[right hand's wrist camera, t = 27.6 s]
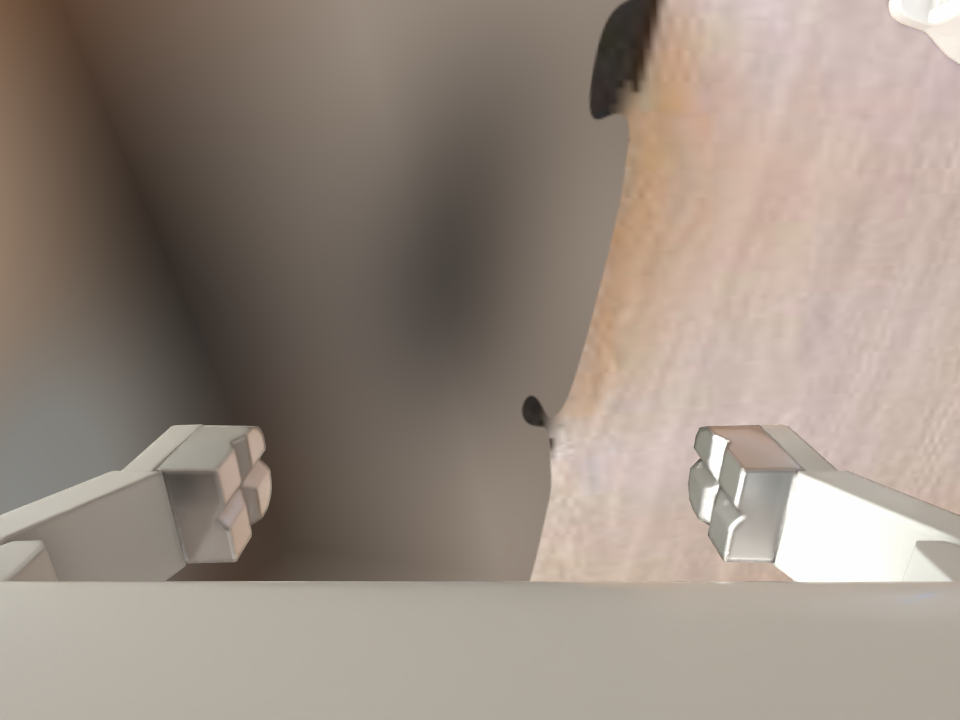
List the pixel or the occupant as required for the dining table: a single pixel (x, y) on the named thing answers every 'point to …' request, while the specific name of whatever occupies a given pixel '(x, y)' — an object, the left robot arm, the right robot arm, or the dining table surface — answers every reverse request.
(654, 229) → the dining table surface
